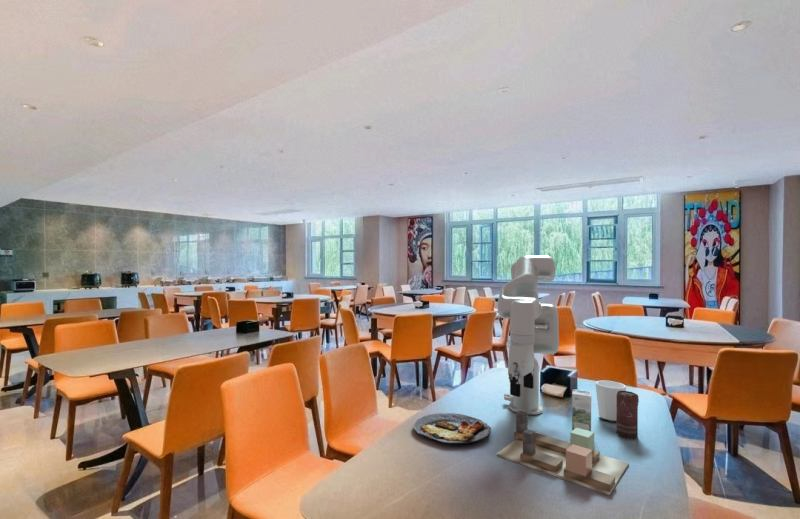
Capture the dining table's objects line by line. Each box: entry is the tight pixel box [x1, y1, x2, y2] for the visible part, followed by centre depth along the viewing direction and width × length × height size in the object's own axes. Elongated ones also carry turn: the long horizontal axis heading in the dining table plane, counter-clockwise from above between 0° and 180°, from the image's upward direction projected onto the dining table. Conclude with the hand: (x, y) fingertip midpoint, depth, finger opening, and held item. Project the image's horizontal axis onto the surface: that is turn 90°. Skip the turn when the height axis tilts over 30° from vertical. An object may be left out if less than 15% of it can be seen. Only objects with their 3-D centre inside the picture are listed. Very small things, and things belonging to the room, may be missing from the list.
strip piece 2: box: [564, 467, 615, 492], centre depth 103 cm, size 11×5×2 cm, turn 49°
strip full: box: [513, 411, 601, 463], centre depth 122 cm, size 24×5×8 cm, turn 48°
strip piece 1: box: [520, 428, 563, 472], centre depth 112 cm, size 10×5×8 cm, turn 49°
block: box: [566, 444, 592, 476], centre depth 105 cm, size 5×5×5 cm
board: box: [496, 438, 630, 496], centre depth 115 cm, size 30×20×1 cm, turn 49°
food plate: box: [413, 412, 492, 445], centre depth 134 cm, size 25×23×4 cm
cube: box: [570, 428, 595, 451], centre depth 116 cm, size 5×5×5 cm
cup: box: [595, 379, 627, 423], centre depth 146 cm, size 10×10×13 cm
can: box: [615, 390, 640, 440], centre depth 132 cm, size 6×6×14 cm
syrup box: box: [571, 388, 592, 432], centre depth 131 cm, size 6×6×14 cm
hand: (522, 391), depth 129 cm, fingers open, 9 cm apart
